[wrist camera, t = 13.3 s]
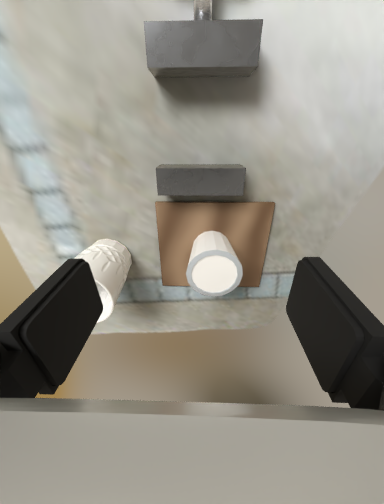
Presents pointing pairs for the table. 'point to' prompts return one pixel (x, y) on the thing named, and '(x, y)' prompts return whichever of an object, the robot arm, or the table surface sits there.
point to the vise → (202, 65)
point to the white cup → (108, 271)
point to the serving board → (213, 219)
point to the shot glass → (213, 265)
